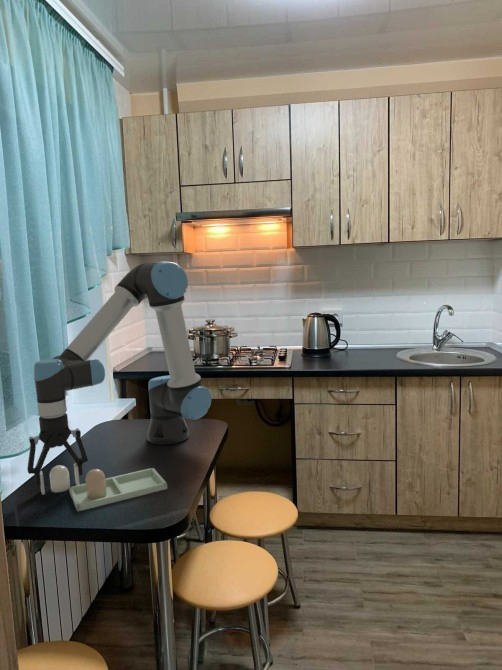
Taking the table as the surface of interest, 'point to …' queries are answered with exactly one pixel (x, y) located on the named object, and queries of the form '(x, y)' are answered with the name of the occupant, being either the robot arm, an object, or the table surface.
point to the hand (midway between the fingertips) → (60, 490)
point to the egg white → (59, 479)
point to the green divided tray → (120, 488)
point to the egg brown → (95, 484)
